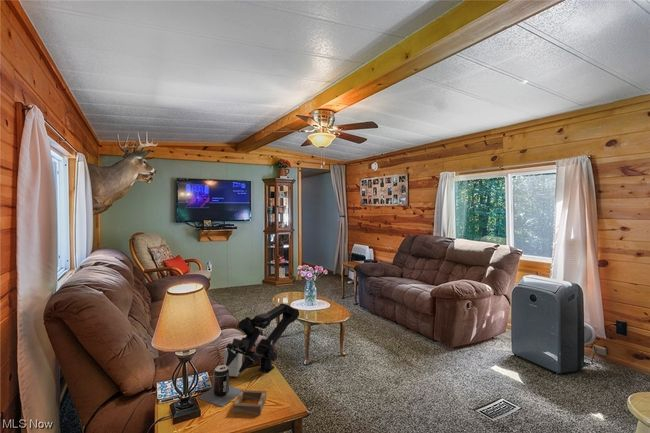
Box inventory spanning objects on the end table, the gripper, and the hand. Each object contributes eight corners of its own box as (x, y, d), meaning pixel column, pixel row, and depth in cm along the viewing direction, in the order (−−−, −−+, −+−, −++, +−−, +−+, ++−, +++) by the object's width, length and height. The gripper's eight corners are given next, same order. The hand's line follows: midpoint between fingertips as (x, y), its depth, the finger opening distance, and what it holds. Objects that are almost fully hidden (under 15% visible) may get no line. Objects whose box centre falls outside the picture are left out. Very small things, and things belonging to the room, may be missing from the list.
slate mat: (219, 383, 165) (219, 382, 165) (243, 390, 159) (243, 389, 159) (198, 398, 153) (198, 397, 153) (222, 407, 147) (222, 406, 147)
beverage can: (230, 395, 154) (230, 370, 154) (214, 399, 152) (214, 373, 151) (227, 388, 161) (227, 363, 160) (212, 391, 158) (212, 366, 157)
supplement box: (241, 371, 177) (243, 346, 178) (236, 377, 169) (238, 350, 171) (227, 370, 177) (229, 345, 179) (222, 375, 170) (224, 349, 171)
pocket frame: (241, 397, 154) (241, 390, 154) (266, 398, 154) (266, 391, 153) (233, 413, 143) (233, 405, 142) (260, 414, 142) (260, 406, 142)
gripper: (229, 326, 170) (210, 356, 161) (255, 336, 159) (237, 368, 151) (241, 337, 177) (223, 366, 168) (267, 347, 166) (249, 378, 158)
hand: (232, 369), depth 161 cm, fingers open, 9 cm apart
